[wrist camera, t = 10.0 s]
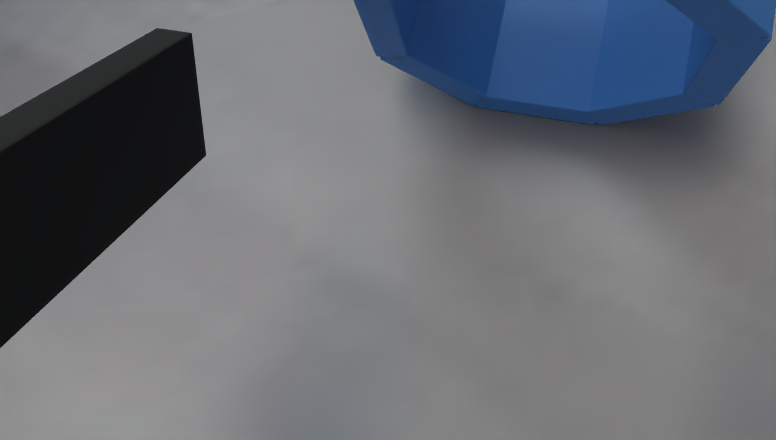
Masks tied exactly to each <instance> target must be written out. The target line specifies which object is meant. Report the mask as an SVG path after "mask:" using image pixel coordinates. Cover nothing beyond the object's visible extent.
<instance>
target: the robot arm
mask: <svg viewBox="0 0 776 440" xmlns="http://www.w3.org/2000/svg"><path fill="white" fill-rule="evenodd" d="M205 156H206V151H205V142H204V134H203V125H202V117H201V109H200V100H199V92H198V83H197V75H196V66H195V58H194V49H193V41H192V33H187V32H180V31H173V30H166V29H159V28H157V29H155V30H153V31H151V32H150V33H148V34H146V35H144V36H143V37H141V38H139V39H137V40H135V41H134V42H132V43H130V44H128V45H127V46H125V47H123V48H121V49H120V50H118V51H116V52H114V53H113V54H111V55H109V56H107V57H105V58H104V59H102V60H100V61H98V62H97V63H95V64H93V65H91V66H90V67H88V68H86V69H84V70H82V71H81V72H79V73H77V74H75V75H74V76H72V77H70V78H68V79H67V80H65V81H63V82H61V83H60V84H58V85H56V86H54V87H52V88H51V89H49V90H47V91H45V92H44V93H42V94H40V95H38V96H37V97H35V98H33V99H31V100H29V101H28V102H26V103H24V104H22V105H21V106H19V107H17V108H15V109H14V110H12V111H10V112H8V113H7V114H5V115H3V116H1V117H0V348H1V347H2V346H3V345H4V344H5V343H6V342H7V341H8V340H9V339H10V338H11V337H12V336H14V335H15V334H16V333H17V332H18V331H19V330H20V329H21V328H22V327H23V326H24V325H25V324H26V323H27V322H28V321H30V320H31V319H32V318H33V317H34V316H35V315H36V314H37V313H38V312H39V311H40V310H41V309H42V308H43V307H44V306H46V305H47V304H48V303H49V302H50V301H51V300H52V299H53V298H54V297H55V296H56V295H57V294H58V293H59V292H61V291H62V290H63V289H64V288H65V287H66V286H67V285H68V284H69V283H70V282H71V281H72V280H73V279H74V278H75V277H77V276H78V275H79V274H80V273H81V272H82V271H83V270H84V269H85V268H86V267H87V266H88V265H89V264H90V263H91V262H93V261H94V260H95V259H96V258H97V257H98V256H99V255H100V254H101V253H102V252H103V251H104V250H105V249H106V248H108V247H109V246H110V245H111V244H112V243H113V242H114V241H115V240H116V239H117V238H118V237H119V236H120V235H121V234H122V233H124V232H125V231H126V230H127V229H128V228H129V227H130V226H131V225H132V224H133V223H134V222H135V221H136V220H137V219H138V218H140V217H141V216H142V215H143V214H144V213H145V212H146V211H147V210H148V209H149V208H150V207H151V206H152V205H153V204H155V203H156V202H157V201H158V200H159V199H160V198H161V197H162V196H163V195H164V194H165V193H166V192H167V191H168V190H169V189H171V188H172V187H173V186H174V185H175V184H176V183H177V182H178V181H179V180H180V179H181V178H182V177H183V176H184V175H185V174H187V173H188V172H189V171H190V170H191V169H192V168H193V167H194V166H195V165H196V164H197V163H198V162H199V161H200V160H202V159H203V158H204V157H205Z"/></svg>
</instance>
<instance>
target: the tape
mask: <svg viewBox="0 0 776 440" xmlns="http://www.w3.org/2000/svg"><path fill="white" fill-rule="evenodd" d="M354 3H355V5H356V8H357V10H358V12H359V15H360V17H361V20H362V22H363V25H364V27H365V30H366V32H367V35H368V37H369V39H370V42H371V44H372V47H373V49H374V52H375V54H376V56H380V57H381V60H383V61H385V62H387V63H389V64H391V65H393V66H395V67H397V68H399V69H401V70H403V71H405V72H407V73H409V74H411V75H413V76H415V77H417V78H418V79H420V80H422V81H424V82H426V83H428V84H430V85H432V86H434V87H436V88H438V89H440V90H442V91H444V92H446V93H448V94H450V95H452V96H454V97H456V98H458V99H460V100H462V101H464V102H466V103H468V104H470V105H475V104H477V106H478V107H479V108H486V109H492V110H499V111H505V112H512V113H519V114H525V115H532V116H538V117H545V118H551V119H558V120H565V121H571V122H578V123H584V124H591V125H595V123H596V122H597V123H598V124H600V125H604V124H610V123H616V122H623V121H629V120H635V119H641V118H647V117H653V116H659V115H666V114H672V113H678V112H684V111H690V110H696V109H703V108H709V107H713V106H714V104H718V105H719V104H720V103H721V102H722V101H723V100H724V98H725V97H726V96H727V95H728V93H729V92H730V91H731V90H732V88H733V87H734V86H735V85H736V83H737V82H738V81H739V80H740V78H741V77H742V76H743V75H744V73H745V72H746V71H747V70H748V68H749V67H750V66H751V65H752V63H753V62H754V61H755V60H756V58H757V57H758V56H759V55H760V53H761V52H762V51H763V49H764V48H765V47H766V46H767V44H768V43H769V42H770V41H771V38H772V30H773V23H774V15H775V8H776V0H354Z"/></svg>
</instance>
